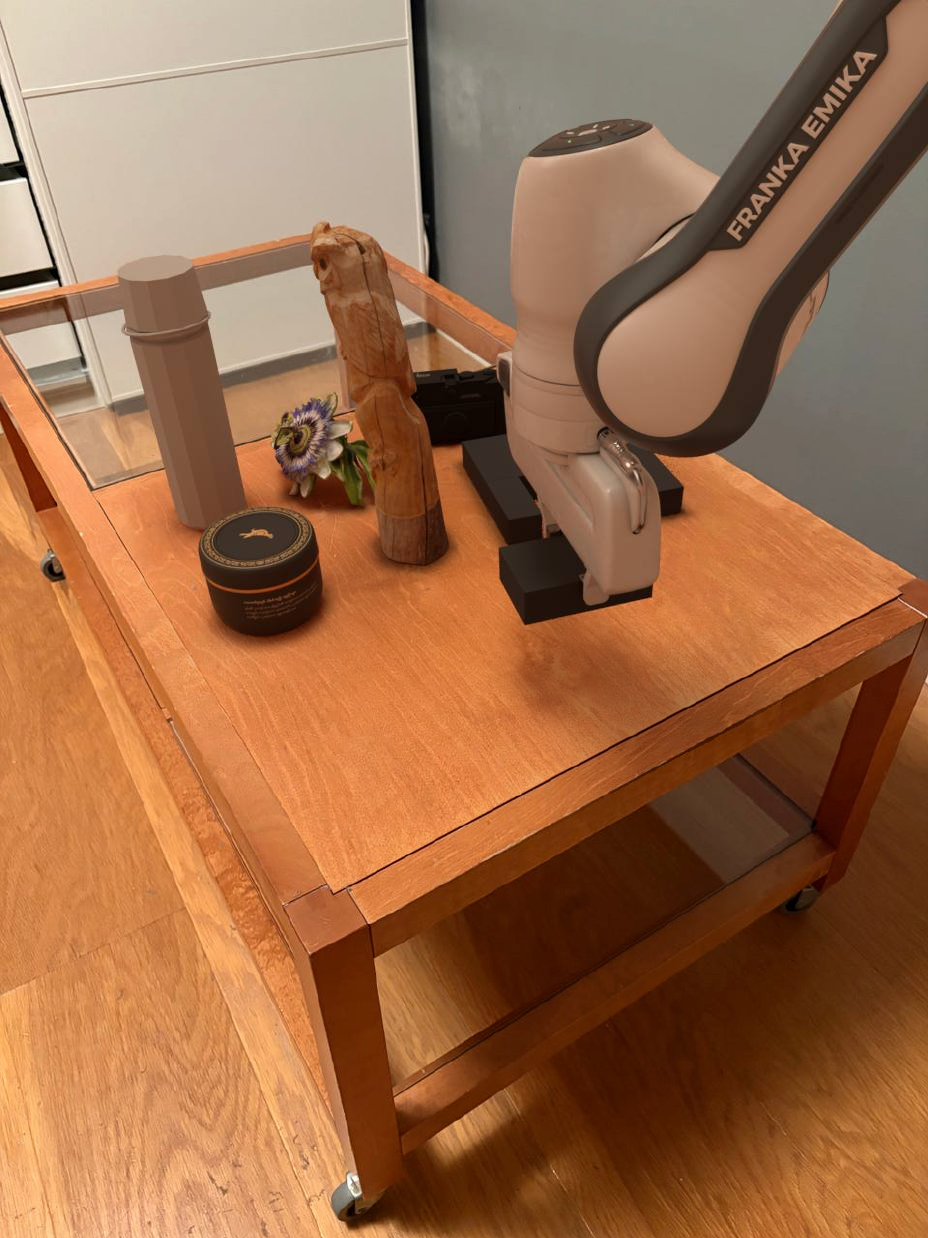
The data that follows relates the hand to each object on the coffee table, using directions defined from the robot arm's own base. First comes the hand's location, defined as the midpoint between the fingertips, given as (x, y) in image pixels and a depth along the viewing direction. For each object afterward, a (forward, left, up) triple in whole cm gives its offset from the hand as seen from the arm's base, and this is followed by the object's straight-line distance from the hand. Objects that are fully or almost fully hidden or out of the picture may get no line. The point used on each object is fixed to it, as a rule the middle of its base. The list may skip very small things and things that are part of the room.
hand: (574, 569), depth 70 cm
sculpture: (+9, -21, -10) cm, 25 cm away
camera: (-2, -42, -10) cm, 43 cm away
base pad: (-10, -26, -10) cm, 30 cm away
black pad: (0, 0, -2) cm, 2 cm away
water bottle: (+26, -34, -10) cm, 44 cm away
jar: (+22, -16, -10) cm, 29 cm away
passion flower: (+13, -35, -10) cm, 39 cm away
